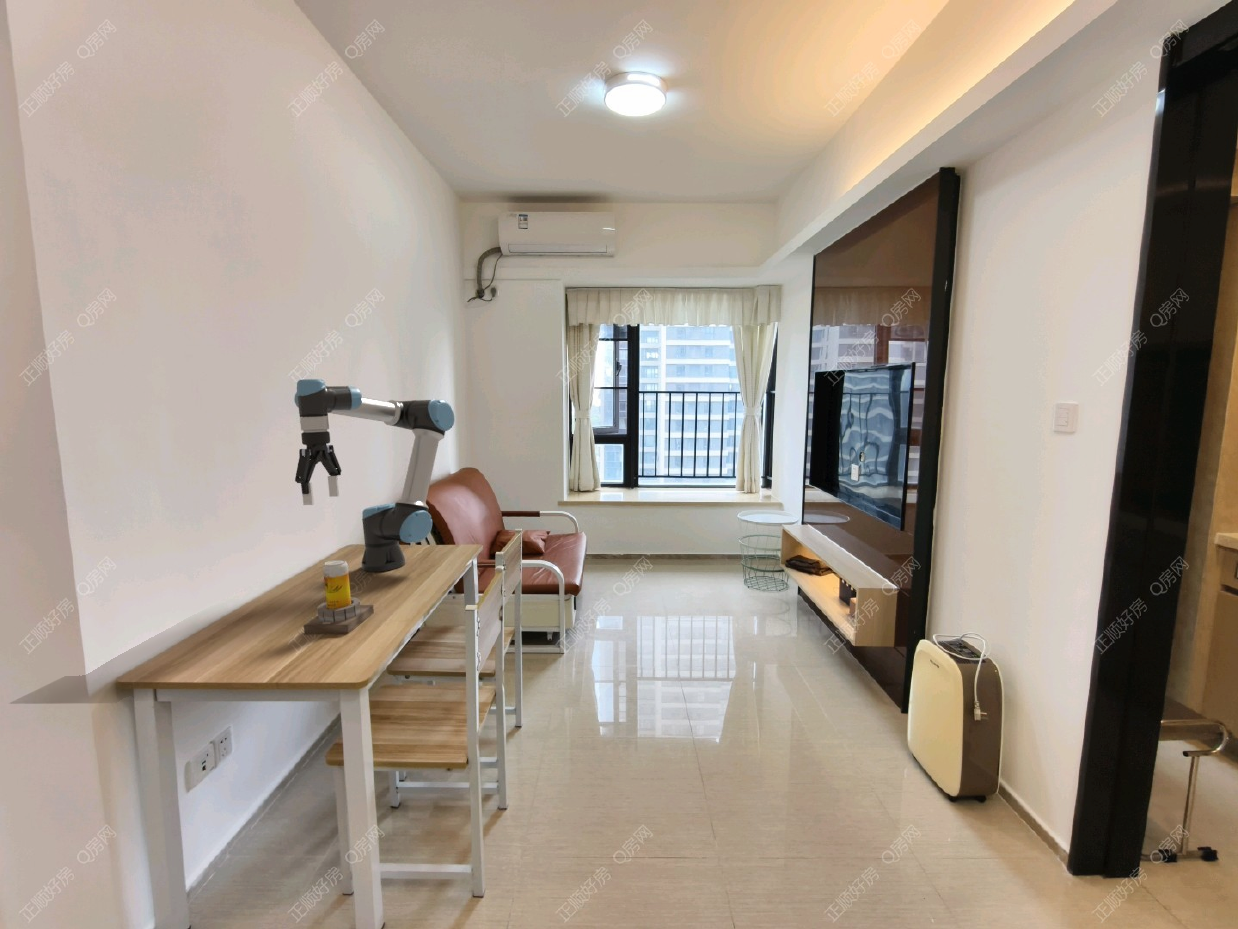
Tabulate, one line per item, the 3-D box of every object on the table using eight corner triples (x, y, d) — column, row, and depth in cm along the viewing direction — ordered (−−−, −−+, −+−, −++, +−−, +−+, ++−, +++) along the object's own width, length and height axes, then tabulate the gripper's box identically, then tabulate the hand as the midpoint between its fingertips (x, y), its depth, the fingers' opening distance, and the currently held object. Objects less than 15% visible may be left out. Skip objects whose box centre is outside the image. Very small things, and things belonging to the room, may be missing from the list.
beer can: (323, 616, 152) (318, 563, 151) (343, 608, 158) (339, 557, 156) (335, 620, 149) (330, 566, 147) (356, 612, 154) (351, 560, 153)
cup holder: (333, 613, 161) (332, 595, 160) (373, 613, 160) (372, 594, 160) (304, 634, 147) (302, 614, 146) (348, 633, 146) (346, 613, 146)
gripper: (326, 428, 178) (332, 493, 181) (275, 434, 154) (283, 508, 156) (349, 428, 178) (355, 492, 180) (302, 433, 153) (309, 508, 156)
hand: (322, 500), depth 168 cm, fingers open, 13 cm apart
